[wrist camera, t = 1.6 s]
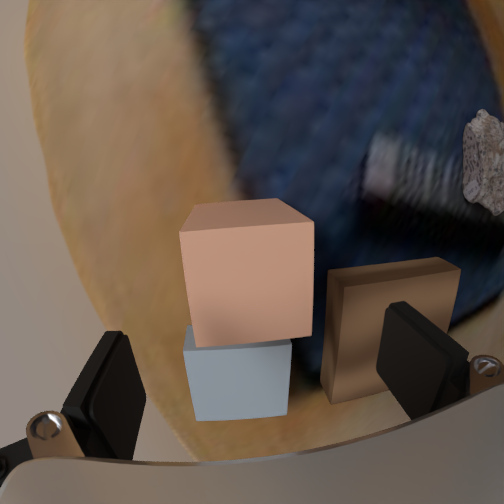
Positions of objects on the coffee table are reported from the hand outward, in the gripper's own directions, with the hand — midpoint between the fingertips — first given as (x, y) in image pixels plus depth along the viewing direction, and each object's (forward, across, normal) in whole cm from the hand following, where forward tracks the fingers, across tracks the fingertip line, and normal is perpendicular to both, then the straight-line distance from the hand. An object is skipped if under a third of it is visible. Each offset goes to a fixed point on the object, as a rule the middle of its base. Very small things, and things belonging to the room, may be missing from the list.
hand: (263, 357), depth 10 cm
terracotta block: (+14, 0, -1) cm, 14 cm away
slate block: (+14, +1, +10) cm, 17 cm away
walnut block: (+14, -13, +8) cm, 21 cm away
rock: (+14, -25, -7) cm, 30 cm away
